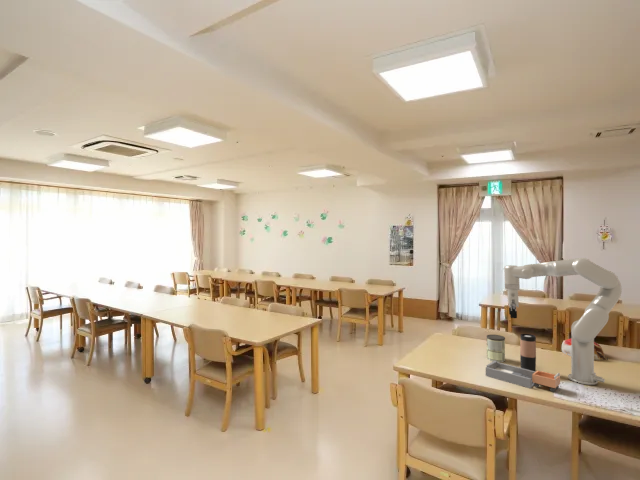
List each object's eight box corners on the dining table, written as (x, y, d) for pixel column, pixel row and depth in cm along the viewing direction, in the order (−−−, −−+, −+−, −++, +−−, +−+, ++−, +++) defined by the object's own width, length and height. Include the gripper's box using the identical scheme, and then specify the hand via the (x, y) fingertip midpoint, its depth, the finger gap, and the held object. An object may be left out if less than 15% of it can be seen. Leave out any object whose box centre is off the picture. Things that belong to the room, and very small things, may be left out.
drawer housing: (539, 381, 185) (539, 370, 185) (530, 388, 176) (530, 377, 176) (495, 369, 201) (495, 359, 201) (485, 375, 192) (485, 365, 192)
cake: (610, 364, 210) (610, 347, 210) (561, 356, 224) (561, 340, 224) (608, 354, 228) (608, 338, 228) (562, 347, 243) (562, 332, 243)
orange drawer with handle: (560, 388, 176) (560, 372, 176) (555, 393, 170) (555, 376, 170) (537, 382, 183) (537, 367, 183) (532, 386, 178) (532, 371, 178)
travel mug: (517, 369, 202) (517, 334, 202) (526, 367, 204) (526, 333, 204) (529, 374, 195) (529, 337, 195) (539, 372, 197) (539, 336, 197)
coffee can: (484, 356, 224) (484, 334, 224) (501, 356, 223) (501, 334, 223) (490, 361, 214) (490, 338, 214) (508, 362, 213) (508, 339, 213)
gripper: (521, 288, 195) (522, 319, 195) (518, 285, 211) (519, 313, 211) (505, 288, 198) (506, 318, 198) (504, 284, 214) (504, 313, 214)
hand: (513, 316), depth 204 cm, fingers open, 9 cm apart
